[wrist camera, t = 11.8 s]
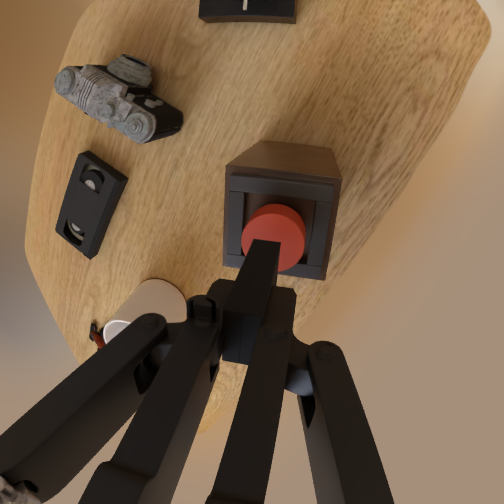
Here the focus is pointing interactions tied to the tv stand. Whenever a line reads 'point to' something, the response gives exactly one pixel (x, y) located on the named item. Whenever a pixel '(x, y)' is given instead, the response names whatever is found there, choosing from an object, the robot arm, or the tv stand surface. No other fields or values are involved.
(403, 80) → the tv stand surface
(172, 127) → the camera
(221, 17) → the dial panel
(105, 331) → the mug
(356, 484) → the robot arm
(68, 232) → the vhs tape
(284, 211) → the press knob
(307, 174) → the pillar
